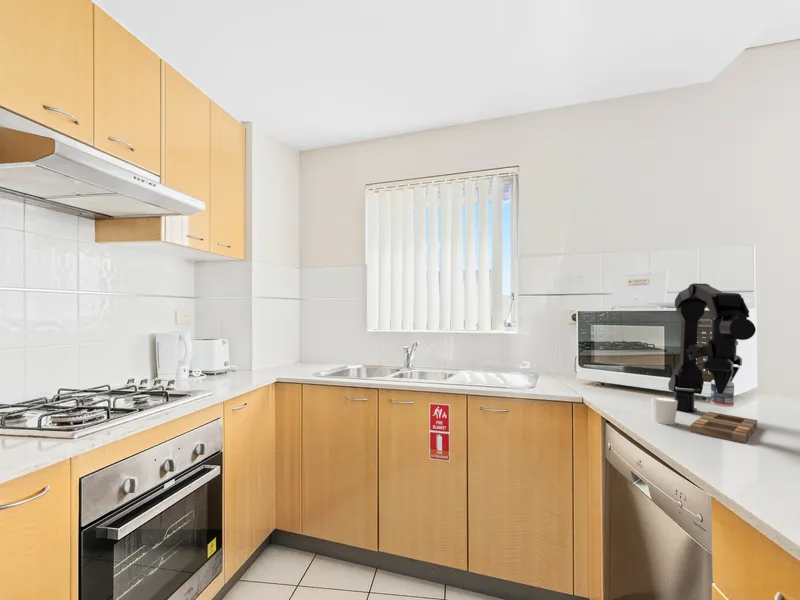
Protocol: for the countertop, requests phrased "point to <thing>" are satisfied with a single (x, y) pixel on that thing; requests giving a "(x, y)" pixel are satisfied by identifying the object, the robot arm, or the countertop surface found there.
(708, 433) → the rail
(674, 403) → the white cylinder
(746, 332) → the robot arm
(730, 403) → the pill bottle
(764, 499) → the countertop surface
